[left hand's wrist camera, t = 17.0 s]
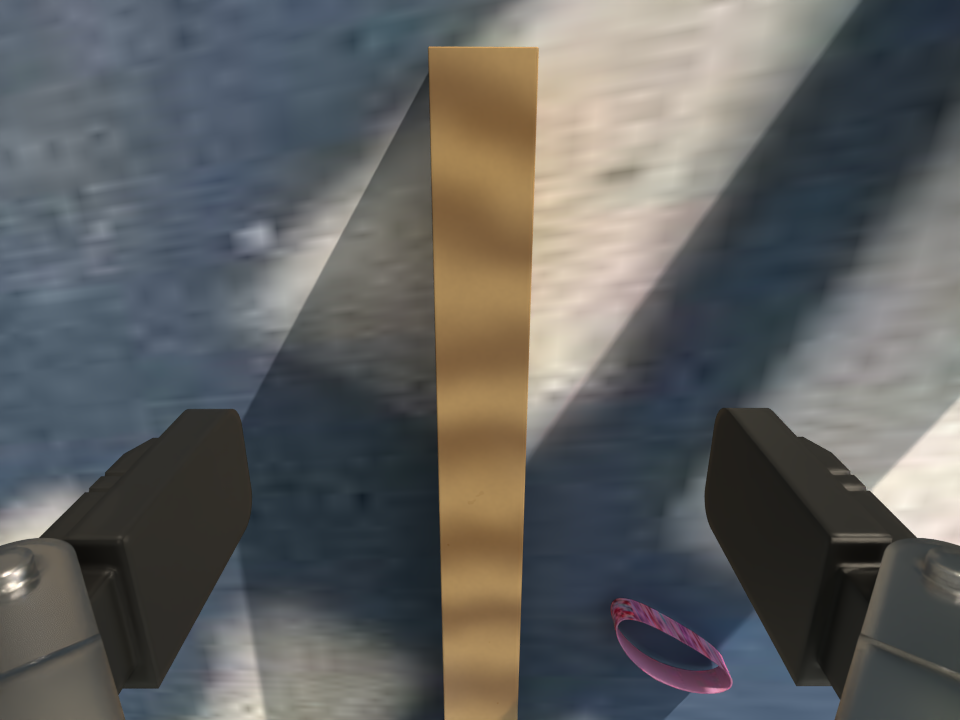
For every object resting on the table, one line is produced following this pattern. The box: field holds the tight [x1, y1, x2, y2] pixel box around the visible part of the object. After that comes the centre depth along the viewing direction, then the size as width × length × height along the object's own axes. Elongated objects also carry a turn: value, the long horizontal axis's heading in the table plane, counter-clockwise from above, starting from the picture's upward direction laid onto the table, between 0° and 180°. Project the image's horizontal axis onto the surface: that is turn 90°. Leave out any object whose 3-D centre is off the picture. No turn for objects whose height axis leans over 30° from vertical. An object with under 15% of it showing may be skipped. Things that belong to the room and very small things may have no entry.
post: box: [428, 47, 539, 720], centre depth 42 cm, size 53×5×7 cm, turn 0°
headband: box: [611, 598, 732, 694], centre depth 49 cm, size 11×4×2 cm, turn 55°
